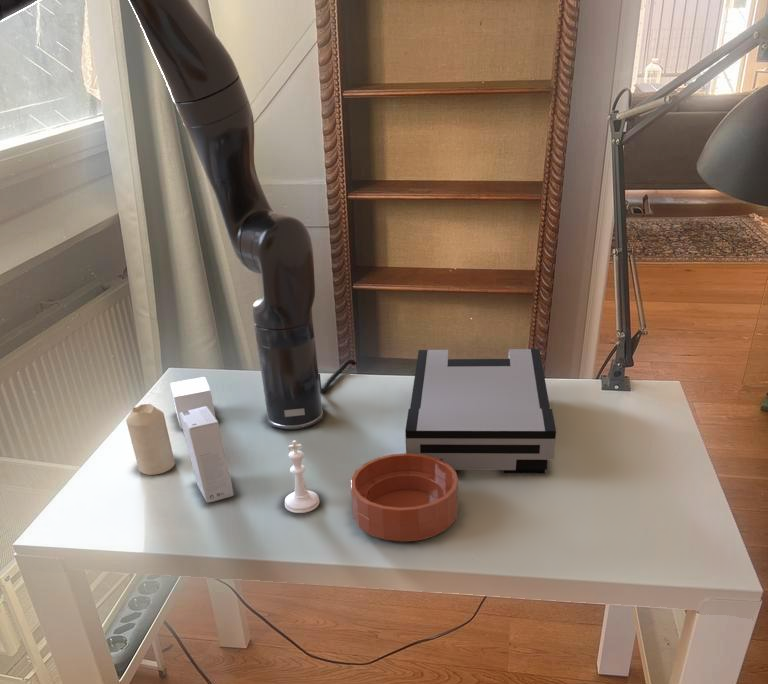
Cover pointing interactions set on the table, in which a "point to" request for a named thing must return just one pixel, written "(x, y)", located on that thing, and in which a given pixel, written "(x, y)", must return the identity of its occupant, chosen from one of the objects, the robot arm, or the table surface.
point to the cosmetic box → (207, 453)
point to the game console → (482, 412)
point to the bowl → (405, 497)
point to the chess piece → (299, 485)
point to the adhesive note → (191, 396)
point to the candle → (150, 439)
